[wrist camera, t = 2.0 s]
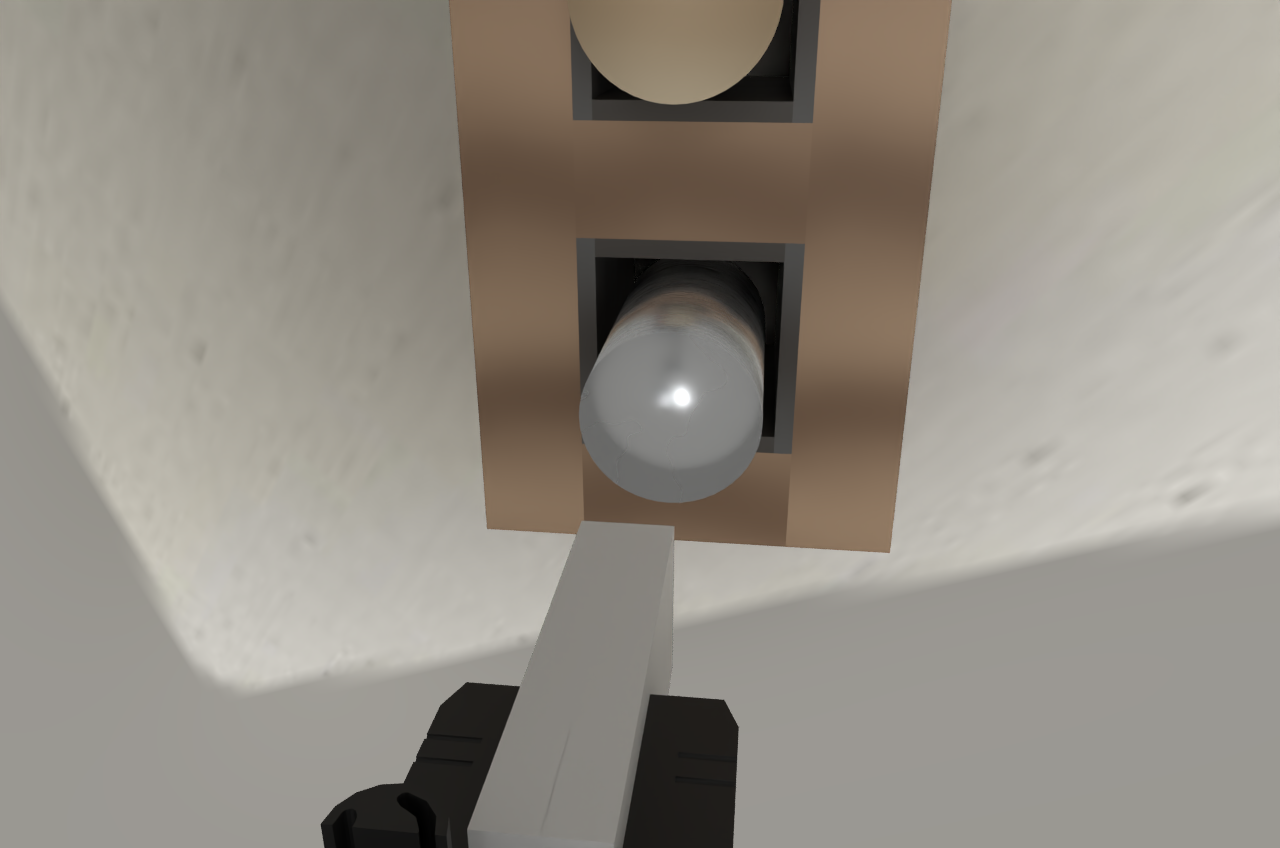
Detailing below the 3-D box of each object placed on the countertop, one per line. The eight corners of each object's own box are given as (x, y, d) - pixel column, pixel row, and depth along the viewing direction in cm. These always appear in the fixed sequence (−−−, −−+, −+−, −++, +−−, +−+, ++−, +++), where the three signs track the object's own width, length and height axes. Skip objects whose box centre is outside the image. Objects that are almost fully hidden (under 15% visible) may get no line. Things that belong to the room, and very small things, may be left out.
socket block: (513, -232, 29) (427, -306, 22) (932, -244, 28) (988, -327, 21) (542, 424, 38) (487, 528, 30) (866, 440, 36) (889, 553, 29)
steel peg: (623, 249, 29) (576, 329, 22) (768, 254, 28) (767, 336, 22) (624, 385, 31) (581, 498, 24) (762, 390, 30) (758, 507, 23)
